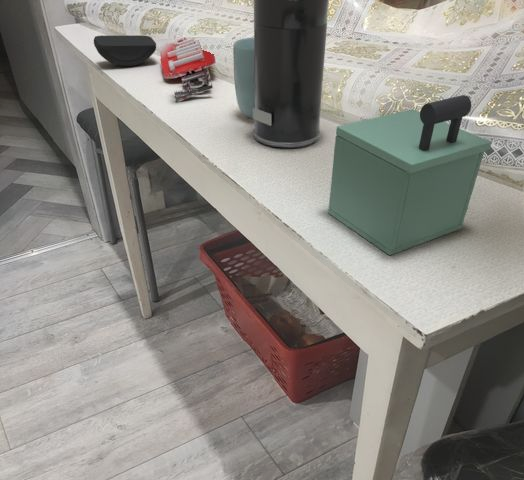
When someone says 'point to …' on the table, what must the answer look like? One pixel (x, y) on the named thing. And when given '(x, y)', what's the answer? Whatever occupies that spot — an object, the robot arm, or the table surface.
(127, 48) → the computer mouse
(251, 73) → the cup
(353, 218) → the green storage box
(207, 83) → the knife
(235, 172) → the table surface
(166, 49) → the logo
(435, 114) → the green square slab
